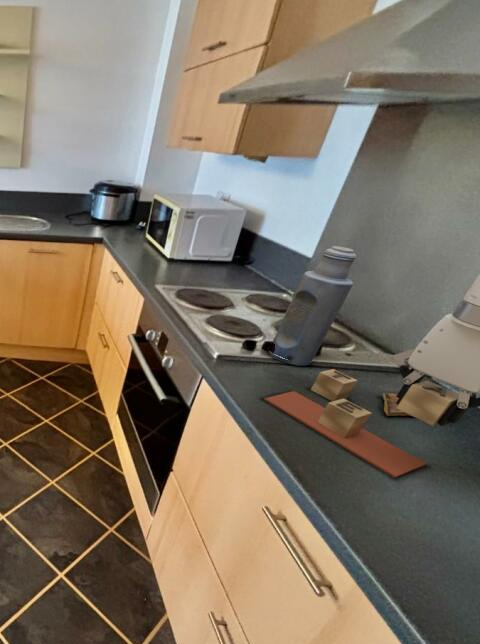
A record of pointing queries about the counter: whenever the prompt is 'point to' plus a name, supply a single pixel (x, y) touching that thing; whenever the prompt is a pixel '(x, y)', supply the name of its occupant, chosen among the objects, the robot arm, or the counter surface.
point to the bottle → (314, 307)
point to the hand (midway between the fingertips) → (422, 412)
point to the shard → (392, 405)
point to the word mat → (359, 444)
